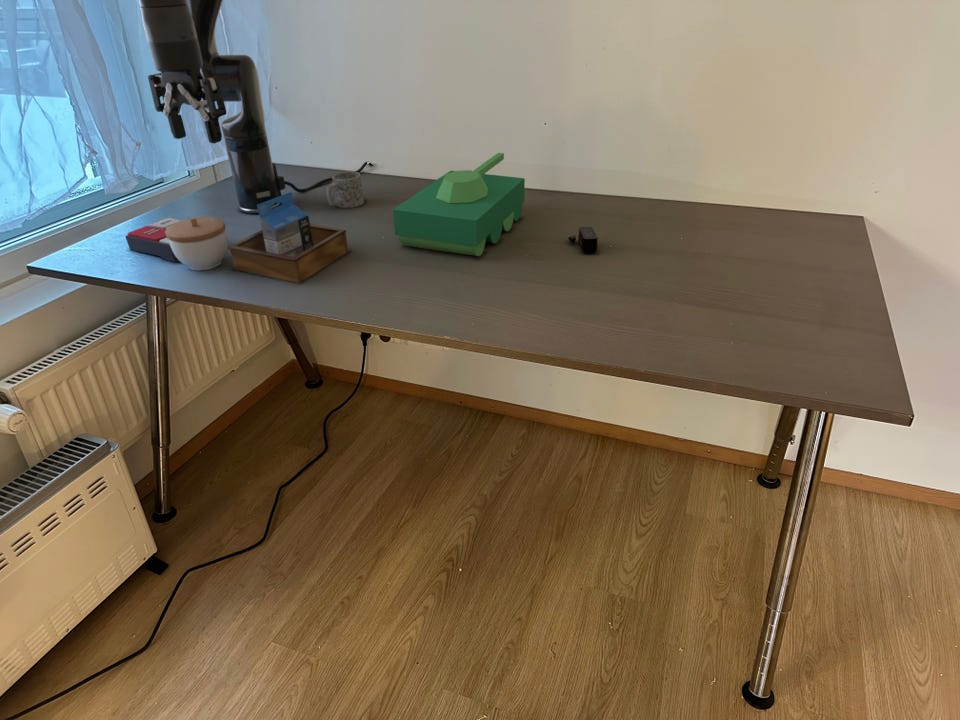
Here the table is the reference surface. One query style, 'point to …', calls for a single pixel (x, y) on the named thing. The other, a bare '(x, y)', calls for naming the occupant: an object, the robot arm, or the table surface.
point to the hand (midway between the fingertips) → (197, 140)
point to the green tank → (461, 211)
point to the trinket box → (198, 242)
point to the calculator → (153, 239)
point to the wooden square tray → (296, 269)
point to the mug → (346, 190)
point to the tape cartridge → (285, 227)
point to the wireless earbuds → (586, 239)
